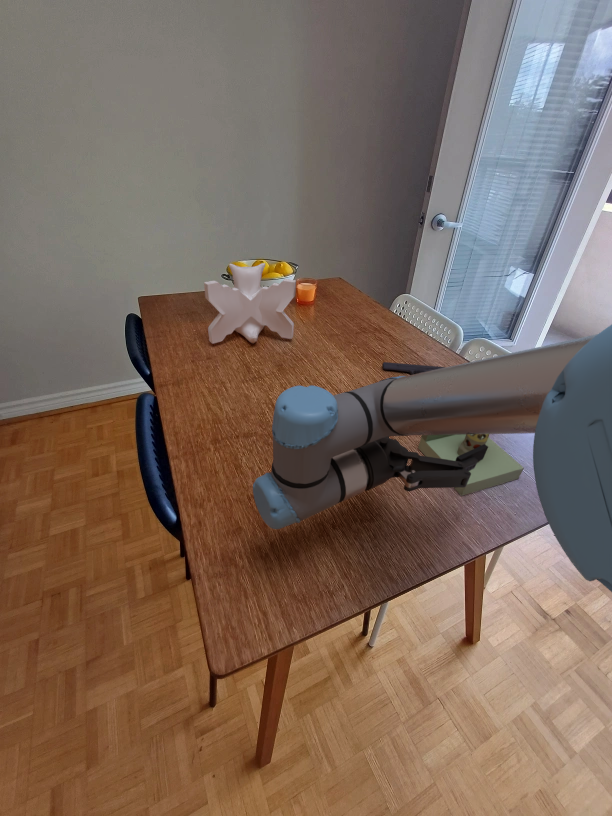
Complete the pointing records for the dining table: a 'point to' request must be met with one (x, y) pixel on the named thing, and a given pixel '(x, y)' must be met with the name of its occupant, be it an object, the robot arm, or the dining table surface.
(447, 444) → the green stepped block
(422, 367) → the handgun
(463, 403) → the robot arm
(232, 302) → the white x-shaped connector
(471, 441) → the grenade
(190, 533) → the dining table surface
